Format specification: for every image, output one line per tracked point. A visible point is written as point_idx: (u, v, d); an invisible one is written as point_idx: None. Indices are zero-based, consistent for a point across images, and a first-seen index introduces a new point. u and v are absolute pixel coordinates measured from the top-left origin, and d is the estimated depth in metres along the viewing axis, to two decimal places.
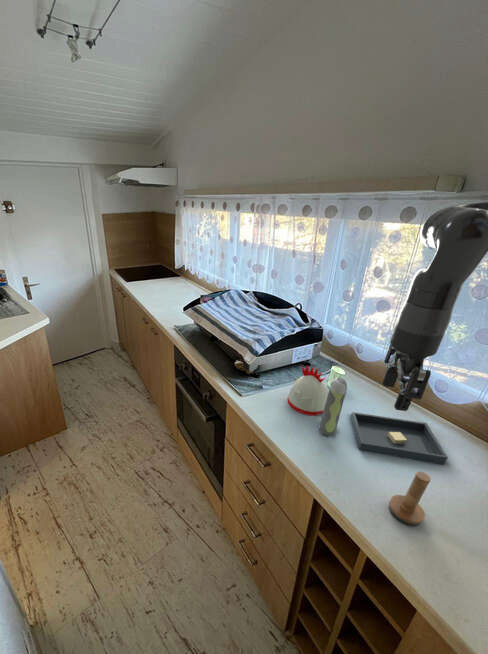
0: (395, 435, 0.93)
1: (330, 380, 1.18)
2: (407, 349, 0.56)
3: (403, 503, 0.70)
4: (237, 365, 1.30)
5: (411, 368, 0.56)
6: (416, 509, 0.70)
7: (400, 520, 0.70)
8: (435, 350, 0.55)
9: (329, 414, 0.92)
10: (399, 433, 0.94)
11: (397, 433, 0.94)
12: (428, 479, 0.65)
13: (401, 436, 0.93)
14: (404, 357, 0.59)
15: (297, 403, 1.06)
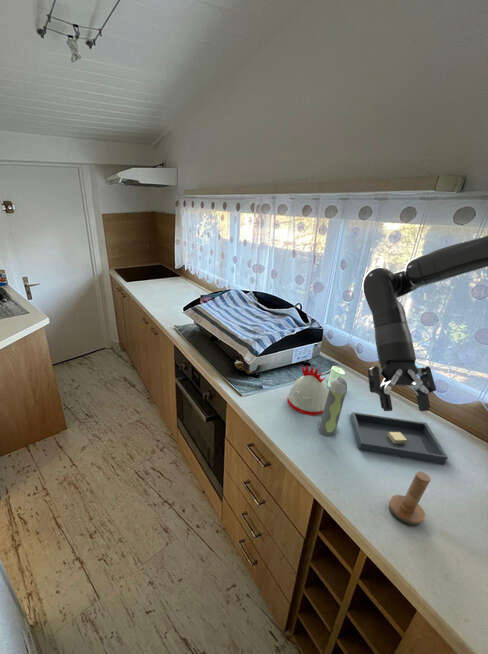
0: (395, 435, 0.93)
1: (330, 380, 1.18)
2: None
3: (403, 503, 0.70)
4: (237, 365, 1.30)
5: None
6: (416, 509, 0.70)
7: (400, 520, 0.70)
8: (391, 355, 0.72)
9: (329, 414, 0.92)
10: (399, 433, 0.94)
11: (397, 433, 0.94)
12: (428, 479, 0.65)
13: (401, 436, 0.93)
14: None
15: (297, 403, 1.06)
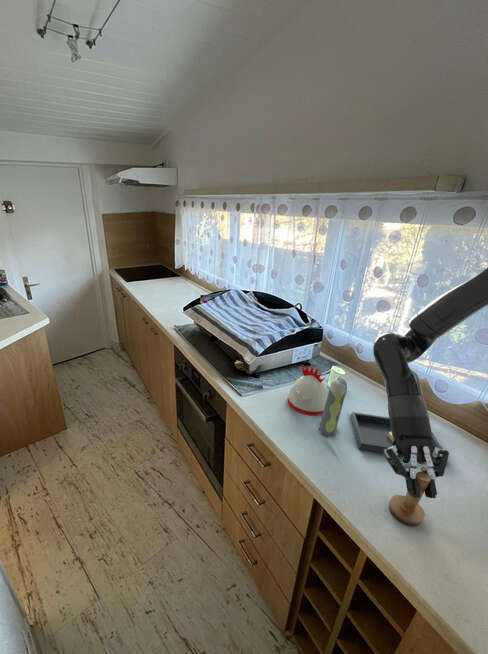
0: None
1: (330, 380, 1.18)
2: None
3: (403, 503, 0.70)
4: (237, 365, 1.30)
5: None
6: (416, 509, 0.70)
7: (400, 520, 0.70)
8: (405, 430, 0.68)
9: (329, 414, 0.92)
10: None
11: None
12: (428, 479, 0.65)
13: None
14: None
15: (297, 403, 1.06)
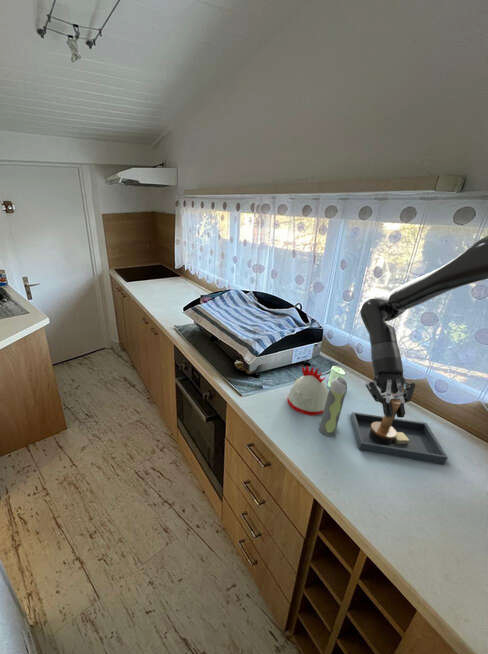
0: (397, 435, 0.93)
1: (330, 380, 1.18)
2: (373, 371, 0.94)
3: (381, 425, 0.92)
4: (237, 365, 1.30)
5: None
6: (390, 430, 0.93)
7: (378, 437, 0.92)
8: (383, 367, 0.90)
9: (329, 414, 0.92)
10: (401, 433, 0.94)
11: (399, 433, 0.94)
12: (399, 402, 0.87)
13: (403, 436, 0.93)
14: None
15: (297, 403, 1.06)
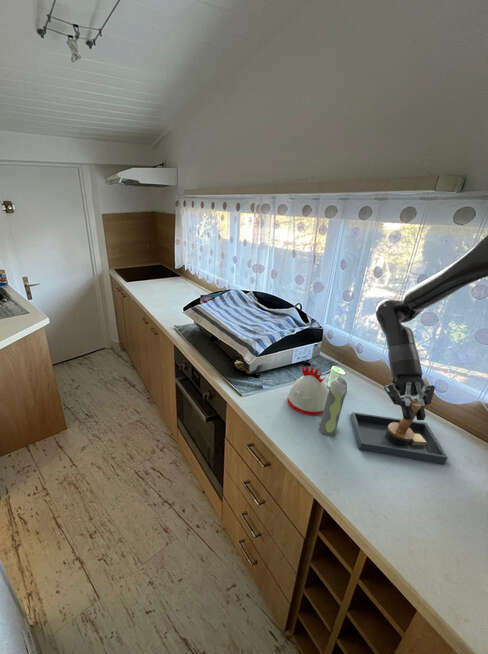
0: (414, 436, 0.92)
1: (330, 380, 1.18)
2: (391, 374, 0.93)
3: (398, 426, 0.91)
4: (237, 365, 1.30)
5: None
6: (408, 431, 0.92)
7: (396, 439, 0.91)
8: (401, 370, 0.89)
9: (329, 414, 0.92)
10: (419, 435, 0.93)
11: (416, 435, 0.93)
12: (419, 405, 0.86)
13: (420, 438, 0.92)
14: None
15: (297, 403, 1.06)
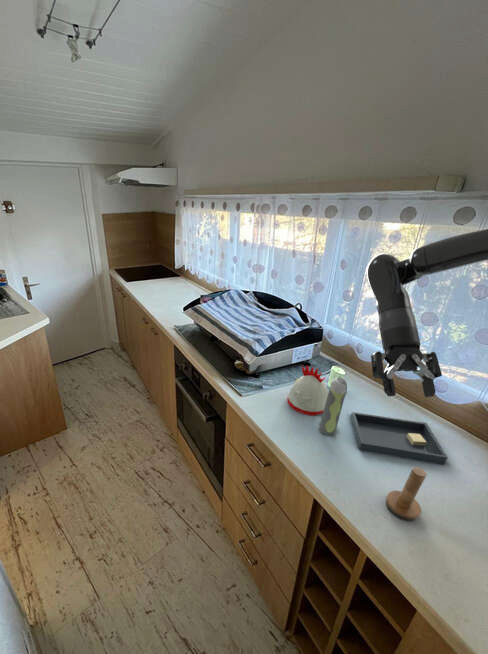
0: (414, 436, 0.92)
1: (330, 380, 1.18)
2: None
3: (400, 499, 0.71)
4: (237, 365, 1.30)
5: (383, 357, 0.74)
6: (412, 504, 0.72)
7: (398, 516, 0.71)
8: (395, 339, 0.72)
9: (329, 414, 0.92)
10: (419, 435, 0.93)
11: (416, 435, 0.93)
12: (424, 474, 0.66)
13: (420, 438, 0.92)
14: None
15: (297, 403, 1.06)
